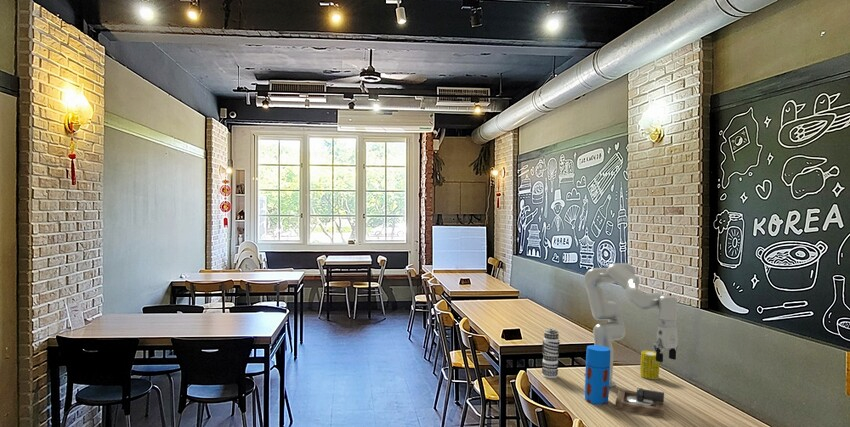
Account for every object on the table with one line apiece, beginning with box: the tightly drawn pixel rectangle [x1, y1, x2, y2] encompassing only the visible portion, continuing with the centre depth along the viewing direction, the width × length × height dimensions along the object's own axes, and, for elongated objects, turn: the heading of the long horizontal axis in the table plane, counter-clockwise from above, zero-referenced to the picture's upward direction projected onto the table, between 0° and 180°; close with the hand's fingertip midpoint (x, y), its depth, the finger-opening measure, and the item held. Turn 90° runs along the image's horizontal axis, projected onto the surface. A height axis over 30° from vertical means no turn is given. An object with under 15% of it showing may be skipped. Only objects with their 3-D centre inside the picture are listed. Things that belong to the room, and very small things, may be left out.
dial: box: [627, 387, 665, 406], centre depth 250 cm, size 16×12×6 cm
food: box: [639, 349, 661, 380], centre depth 294 cm, size 15×12×10 cm
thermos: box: [584, 344, 610, 406], centre depth 255 cm, size 11×11×25 cm
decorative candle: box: [541, 328, 561, 379], centre depth 291 cm, size 9×9×25 cm
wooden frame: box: [614, 388, 665, 418], centre depth 251 cm, size 20×20×3 cm
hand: (665, 360), depth 248 cm, fingers open, 9 cm apart
